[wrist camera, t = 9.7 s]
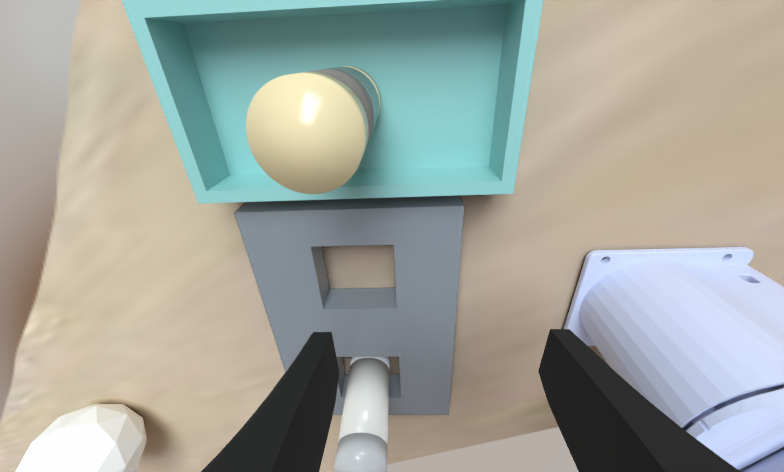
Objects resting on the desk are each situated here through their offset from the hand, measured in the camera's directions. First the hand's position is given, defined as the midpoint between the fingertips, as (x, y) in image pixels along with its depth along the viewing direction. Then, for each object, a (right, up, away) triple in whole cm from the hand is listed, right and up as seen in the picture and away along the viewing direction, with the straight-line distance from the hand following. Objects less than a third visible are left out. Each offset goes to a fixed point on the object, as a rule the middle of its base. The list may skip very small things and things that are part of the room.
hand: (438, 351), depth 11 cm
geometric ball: (-27, -12, +19) cm, 35 cm away
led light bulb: (-4, +10, +4) cm, 12 cm away
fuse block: (-3, -2, +12) cm, 12 cm away
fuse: (-3, -5, +14) cm, 15 cm away
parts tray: (-4, +11, +5) cm, 12 cm away
